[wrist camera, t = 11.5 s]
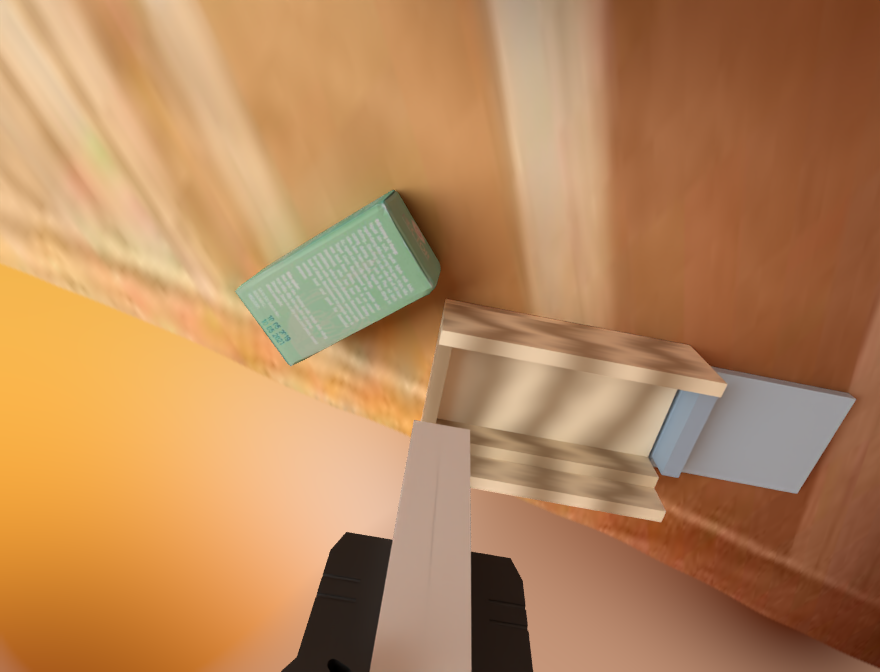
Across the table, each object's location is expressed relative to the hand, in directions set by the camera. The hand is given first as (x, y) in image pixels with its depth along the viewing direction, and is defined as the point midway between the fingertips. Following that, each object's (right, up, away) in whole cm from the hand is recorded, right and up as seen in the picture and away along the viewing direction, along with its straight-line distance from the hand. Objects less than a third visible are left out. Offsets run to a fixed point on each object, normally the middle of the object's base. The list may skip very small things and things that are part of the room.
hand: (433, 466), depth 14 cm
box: (-7, +10, +30) cm, 32 cm away
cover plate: (+29, -5, +34) cm, 45 cm away
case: (+10, -1, +33) cm, 35 cm away
